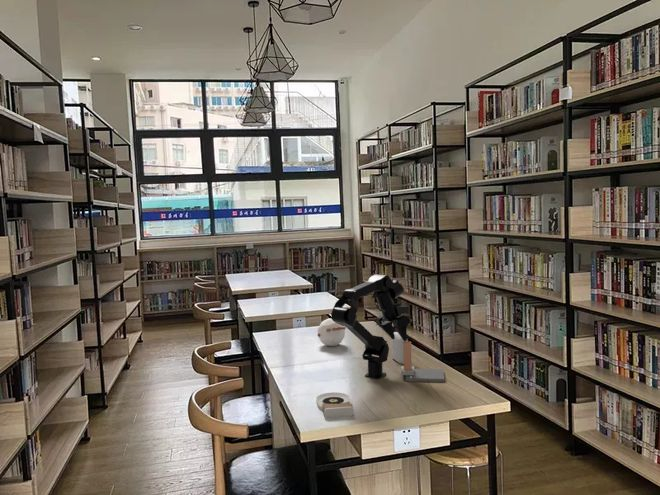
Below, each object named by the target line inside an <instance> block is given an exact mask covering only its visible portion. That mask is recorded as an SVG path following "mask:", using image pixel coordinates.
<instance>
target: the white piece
mask: <svg viewBox="0 0 660 495" xmlns="http://www.w3.org/2000/svg"><path fill="white" fill-rule="evenodd" d="M346 330H347V327H345V326H342V325H339V324H337V323H336V322H334V321H333V320H332V318H326V319H324V320H322V321H321V323H320V324H319V325H318V327H317V338H319V341H320V342H321V343H322V344H323V345H326V346H327V347H336V346H338V345H339V344H341V343H342V341H343V340H344V339H345V337H346V335H345V334H346Z"/></svg>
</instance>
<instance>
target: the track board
mask: <svg viewBox="0 0 660 495" xmlns="http://www.w3.org/2000/svg"><path fill="white" fill-rule="evenodd" d="M405 382H421V383H422V382H423V383H424V382H427V383H428V382H433V383H445V375H444V369H443V368H439V369H438V368H414V375H405Z"/></svg>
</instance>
